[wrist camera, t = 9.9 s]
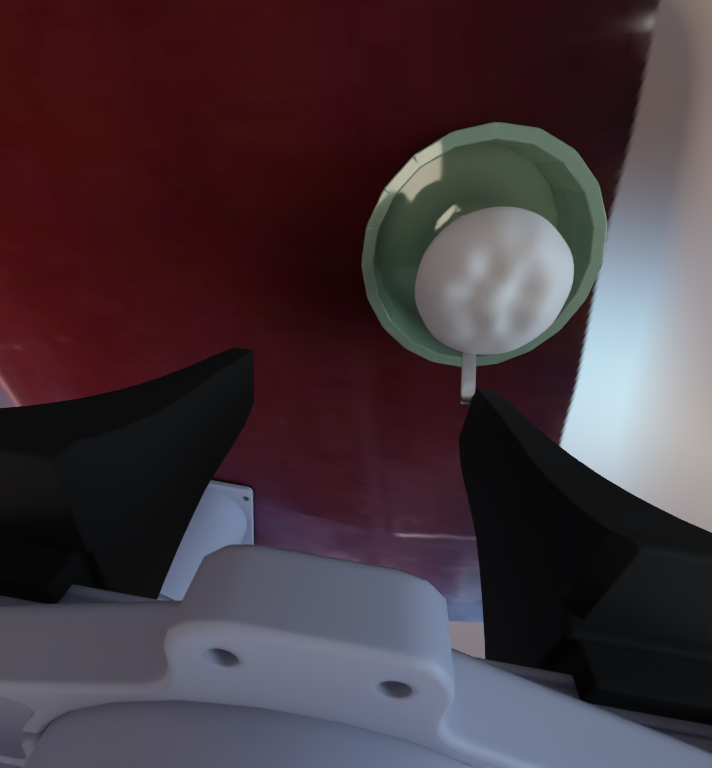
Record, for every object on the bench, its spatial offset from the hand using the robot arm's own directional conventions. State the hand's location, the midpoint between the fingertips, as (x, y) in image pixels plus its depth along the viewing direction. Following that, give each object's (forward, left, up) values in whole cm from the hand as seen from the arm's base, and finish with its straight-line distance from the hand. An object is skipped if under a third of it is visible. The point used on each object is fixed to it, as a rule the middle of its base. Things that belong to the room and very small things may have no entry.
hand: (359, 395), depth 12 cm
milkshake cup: (+4, -4, -10) cm, 11 cm away
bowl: (+4, -4, -10) cm, 11 cm away
